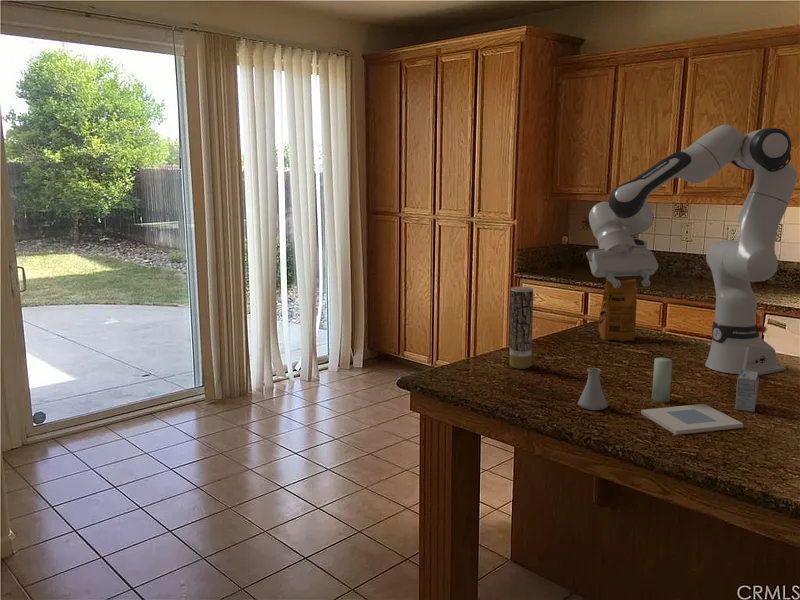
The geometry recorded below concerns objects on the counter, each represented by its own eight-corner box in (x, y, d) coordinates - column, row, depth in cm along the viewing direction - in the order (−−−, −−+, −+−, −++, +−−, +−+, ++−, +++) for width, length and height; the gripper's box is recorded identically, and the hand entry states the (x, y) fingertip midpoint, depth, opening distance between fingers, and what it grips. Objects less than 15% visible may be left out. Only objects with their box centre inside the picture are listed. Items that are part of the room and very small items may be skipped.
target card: (703, 407, 168) (703, 403, 167) (742, 427, 154) (743, 423, 154) (641, 413, 164) (641, 409, 163) (675, 434, 150) (676, 430, 150)
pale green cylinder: (662, 396, 176) (665, 357, 174) (672, 401, 172) (675, 361, 170) (648, 397, 175) (650, 358, 173) (658, 403, 171) (660, 362, 169)
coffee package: (597, 334, 244) (600, 276, 240) (631, 335, 242) (635, 277, 238) (600, 341, 234) (603, 281, 230) (636, 342, 232) (640, 281, 228)
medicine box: (754, 412, 164) (757, 379, 162) (734, 409, 166) (737, 377, 164) (756, 403, 170) (759, 371, 168) (737, 400, 172) (740, 369, 171)
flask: (591, 413, 165) (593, 375, 163) (572, 404, 171) (573, 367, 169) (613, 408, 168) (615, 371, 166) (592, 399, 174) (594, 363, 172)
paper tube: (531, 370, 201) (533, 290, 196) (508, 369, 202) (510, 290, 198) (531, 363, 208) (533, 286, 203) (509, 362, 209) (511, 286, 204)
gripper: (588, 242, 190) (604, 281, 183) (650, 241, 195) (668, 278, 187) (580, 256, 195) (595, 293, 188) (641, 254, 200) (658, 290, 192)
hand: (632, 286), depth 187 cm, fingers open, 8 cm apart
